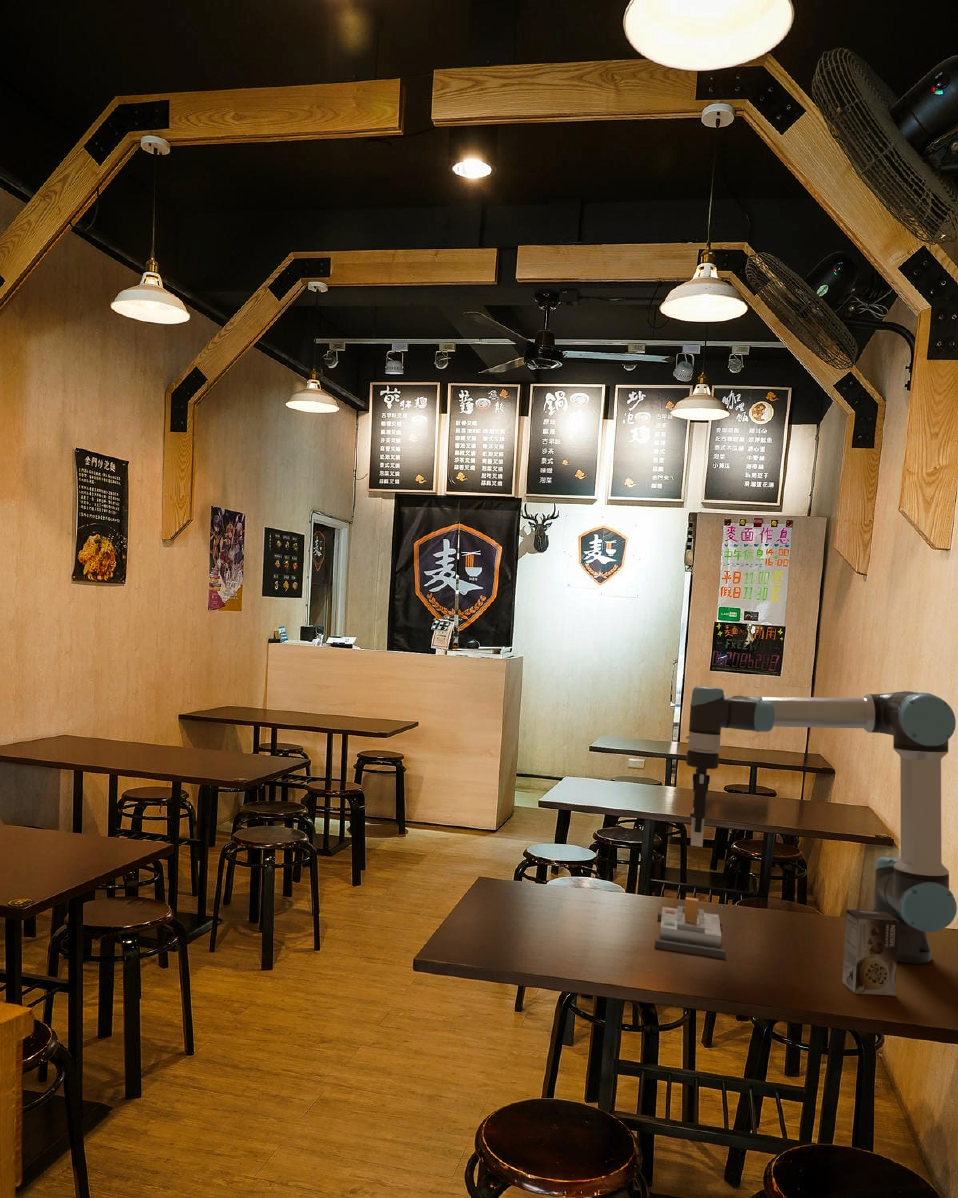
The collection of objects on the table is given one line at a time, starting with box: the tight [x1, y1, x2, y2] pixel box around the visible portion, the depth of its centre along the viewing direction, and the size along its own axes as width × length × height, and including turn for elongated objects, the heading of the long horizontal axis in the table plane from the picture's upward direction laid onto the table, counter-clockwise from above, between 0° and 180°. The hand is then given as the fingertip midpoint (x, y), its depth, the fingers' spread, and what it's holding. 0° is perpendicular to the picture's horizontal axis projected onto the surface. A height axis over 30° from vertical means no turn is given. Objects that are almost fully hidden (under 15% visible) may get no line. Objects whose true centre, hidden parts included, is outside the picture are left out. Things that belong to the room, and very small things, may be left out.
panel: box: [659, 905, 722, 949], centre depth 219 cm, size 14×18×5 cm
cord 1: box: [657, 912, 723, 930], centre depth 230 cm, size 16×2×2 cm, turn 77°
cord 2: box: [654, 938, 727, 960], centre depth 208 cm, size 16×2×2 cm, turn 77°
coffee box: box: [841, 908, 899, 996], centre depth 194 cm, size 9×6×16 cm
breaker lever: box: [684, 896, 699, 922], centre depth 220 cm, size 3×2×5 cm, turn 76°
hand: (696, 840), depth 215 cm, fingers open, 12 cm apart
